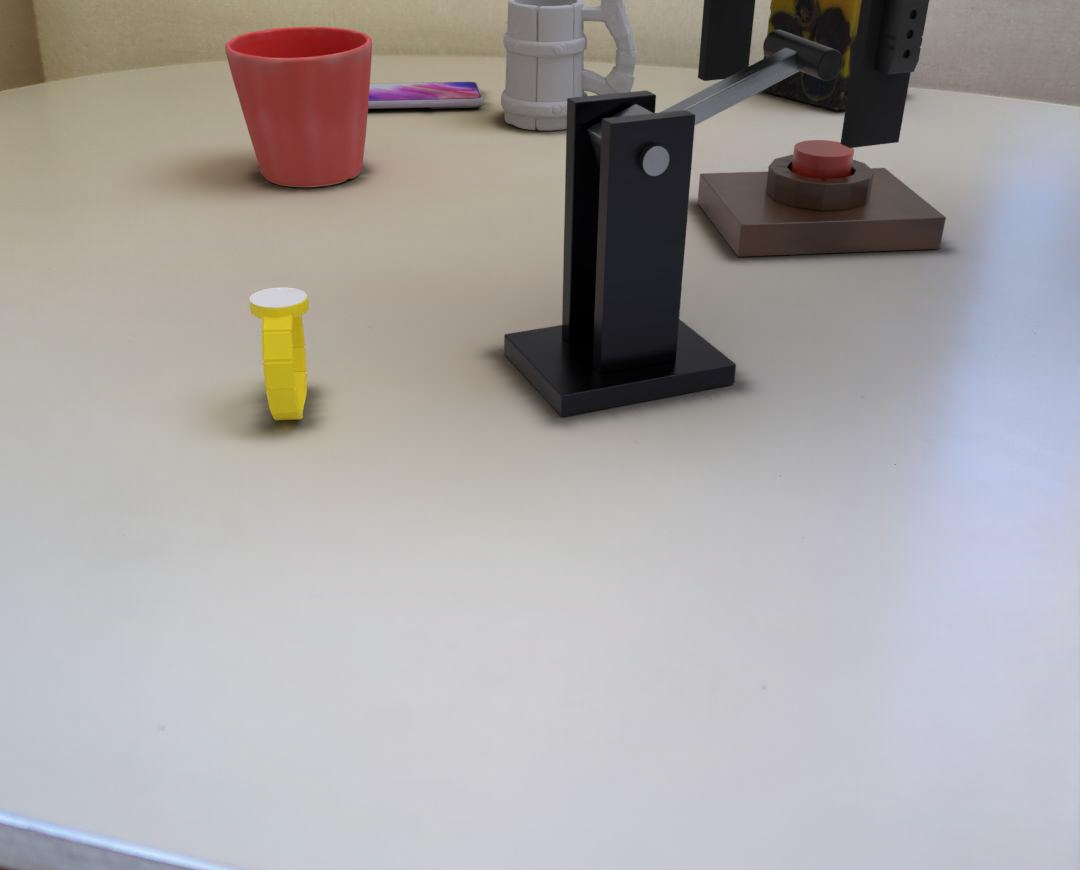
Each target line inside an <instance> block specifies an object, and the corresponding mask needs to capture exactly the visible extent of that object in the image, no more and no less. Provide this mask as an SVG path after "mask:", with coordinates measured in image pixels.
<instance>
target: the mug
mask: <svg viewBox="0 0 1080 870" xmlns="http://www.w3.org/2000/svg"><path fill="white" fill-rule="evenodd" d="M506 22H507V23H506V24H507V26H506V28H507V29H506V32H505V33H504V35H503V39H502V42H503V47H504V50H506V55H505V86H504V89H503V90H502V92H501V95H500V105H501V108H502V109H503V110H504V121H505V123H506V124H508V125H512V126H514V127H516V128H519V129H523V130H529V131H536V130H537V131H541V132H543V131H547V132H548V131H550V132H551V131H563V130H566V129H567V98H573V97H583V96H589V95H588V93H587V92H589V93H592V94H595V95H604V94H615V93H625V92H632V89H633V86H634V83H635V76H634V74H635V69H636V65H637V62H638V51H637V49H636V43H635V38H634V34H633V31H632V25H631V23H630V19H629V16H628V12H627V8H626V4H625V2H624V0H600V5H597V6H596V5H584V1H583V0H508V1H507V21H506ZM585 22H599V23H604V27H606V29H607V30H608V32H609V34H610V36H611V37H612V39H613V41H614V45H615V48H616V50H615V65H614V66H613V67H612V69H610V70H611V71H610V72H609V73H608V74H607V75H606V76H603V75H601V74H599V73H597V72H594V71H593V70H589V69H586V68H585V50H587V49H588V37H587V35H586V33H585V31H584V29H585V26H584V23H585Z"/></svg>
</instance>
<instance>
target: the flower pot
mask: <svg viewBox="0 0 1080 870" xmlns="http://www.w3.org/2000/svg"><path fill="white" fill-rule="evenodd" d="M224 50H225V55H226V59H227V62H228V63H227V64H228V67H229V70H230V74H231V77H232V81H233V84H234V87H235V91H236V95H237V98H238V101H239V105H240V107H241V112H242V115H243V118H244V121H245V122H244V123H245V125H246V127H247V131H248V134H249V138H250V141H251V144H252V147H253V151H254V154H255V158H256V161H257V164H258V166H259V170H260V173H261V176H263V178H264V179H265V180H266V181H268V182H270V183H272V184H275V185H279V186H285V187H293V188H315V187H316V188H317V187H327V186H333V185H337V184H341V183H344V182H346V181H347V180H348V179H349V180H351V179H354V178H356V177H357V176H359V175H360V173H361V172H362V170H363V164H364V155H365V148H366V147H365V146H366V138H367V127H368V125H367V124H368V116H369V115H368V113H369V109H368V102H369V88H370V84H371V71H372V54H373V53H372V52H373V41H372V38H371V36H370V35H368V34H367V33H365V32H362V31H360V30H359V31H358V30H354V29H350V28H342V27H334V26H333V27H331V26H291V27H278V28H277V27H276V28H269V29H268V28H267V29H261V30H256V31H251V32H245V33H243V34H239V35H237V36H234V37H232V38H230V39H229V40H227V42H226V43H225V46H224Z"/></svg>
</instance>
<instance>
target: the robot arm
mask: <svg viewBox="0 0 1080 870" xmlns="http://www.w3.org/2000/svg"><path fill="white" fill-rule="evenodd" d="M929 4H930V0H862V1H861V7H860V14H859V21H858V28H857V35H856V41H855V48H854V55H853V62H852V68H851V75H850V82H849V89H848V96H847V102H846V109H845V110H844V116H843V123H842V129H841V135H840V136H841V137H840V144H842V145H844V146H846V147H848V148H853V149H854V148H862V147H871V146H881V145H888V144H896V143H899V142H900V137H901V131H902V126H903V125H902V124H903V119H904V113H905V108H906V102H907V97H908V90H909V85H910V79H911V75H912V74H911V73H914V72H915V70H916V68H917V66H918V63H919V60H920V55H921V50H922V48H921V46H922V43H923V36H924V32H925V28H926V27H925V26H926V20H927V16H928V9H929ZM755 7H756V0H703V7H702V22H701V33H700V45H699V58H698V71H697V79H699V80H700V81H703V82H709V81H718V80H719V81H722V80H724V79H725V78H727V77H729V76H731V75H733V74H735V73H737V72H739V71H741V70H743V69H745V68H747V67H749V66H750V58H751V57H750V56H751V47H752V39H753V37H752V36H753V29H754V19H755V17H754V16H755V9H756V8H755Z"/></svg>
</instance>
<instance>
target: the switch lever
mask: <svg viewBox="0 0 1080 870" xmlns="http://www.w3.org/2000/svg"><path fill="white" fill-rule="evenodd" d="M762 50H763V54H764V53H765V55H766V58H764V57H763V58H764V59H763V58H762V59H760V60H759V61H757V62H754V63H752V64H751V65H749V67H747V68H745V69H743V70H741V71H739V72H737V73H735V74H733V75H731V76H729V77H727V78H725V79H721V80H719V81H717V82H716V83H713V84H712V85H710V86H708V87H706V88H704V89H702V90H700V91H698V92H696V93H694V94H692V95H691V96H689V97H687V98H684V99H683V100H680V101H679V102H677V103H675V104H673V105H671V106H669V107H667V108H665V109H663V110H662V111H660V112H658V113H661V112H671V111H681V110H686V111H688V112H690V113H692V114H694V115H695V126H697V125H699V124H701V123H703V122H705V121H706V120H709V119H710V118H712V117H714V116H716V115H718V114H720V113H722V112H724V111H726V110H728V109H729V108H732V107H734V106H735V105H737V104H739V103H741V102H743V101H746V100H747V99H749V98H752V97H753V96H755V95H757V94H759V93H760V92H762V91H763V90H764V89H766V88H768V87H770V86H772V85H774V84H776V83H778V82H780V81H782V80H784V79H785V78H787V77H789V76H791V75H793V74H795V73H797V72H799V71H801V72H804V73H806V74H809V75H811V76H814V77H816V78H819V79H821V80H824V81H829V80H832V79H834V78H835V77H836V76H837V75H838V74H839V72H840V71H841V68H842V64H843V59H842V56H841V54H840V52H839V51H837V50H835V49H832V48H829V47H827V46H824V45H821V44H818V43H816V42H813V41H810V40H807V39H804V38H802V37H799V36H796V35H793V34H791V33H788V32H785V31H782V30H774V31H772V32H770V33H769V34H768V35H767V34H766V37H765V38H764V41H763V45H762ZM651 113H653V112H651V111H649V110H647V109H645V108H643V107H641V106H640V105H638V104H635V105H633V106H631V107H629V108H627V109H625V110H623V111H621V112H619V113H617V114H615V115H613V116H611V117H609V118H613V117H622V116H632V115H642V114H651ZM588 133H589V136H590V139H591V142H592V146H593V149H594V152H595V155H596V159H597V162H598V165H599V168H600V160H601V135H602V122H600V123H598V124H596V125H594V126H592V127H590V128H588Z"/></svg>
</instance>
